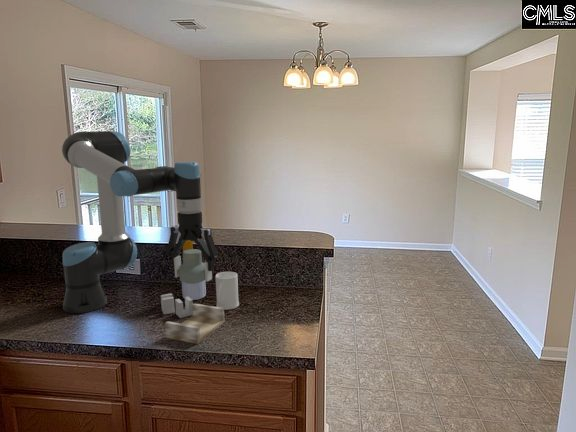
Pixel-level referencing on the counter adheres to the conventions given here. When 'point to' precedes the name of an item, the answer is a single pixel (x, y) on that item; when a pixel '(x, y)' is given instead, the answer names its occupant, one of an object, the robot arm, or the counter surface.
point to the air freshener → (192, 267)
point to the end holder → (196, 324)
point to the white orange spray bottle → (196, 289)
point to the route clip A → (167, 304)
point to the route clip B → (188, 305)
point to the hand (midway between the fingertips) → (193, 278)
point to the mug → (227, 290)
